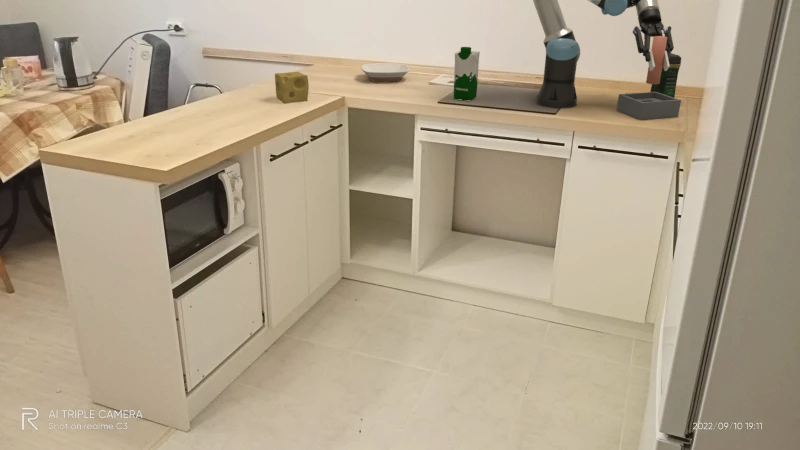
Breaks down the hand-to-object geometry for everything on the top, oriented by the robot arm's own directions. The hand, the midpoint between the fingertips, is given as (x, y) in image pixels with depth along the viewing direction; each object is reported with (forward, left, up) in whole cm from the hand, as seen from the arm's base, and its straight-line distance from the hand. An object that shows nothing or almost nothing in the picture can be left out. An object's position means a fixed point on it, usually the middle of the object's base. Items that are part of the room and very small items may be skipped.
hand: (659, 68), depth 222 cm
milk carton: (-54, +44, -17) cm, 72 cm away
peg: (+1, +4, -6) cm, 7 cm away
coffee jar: (+19, +19, -17) cm, 32 cm away
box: (+1, +4, -17) cm, 17 cm away
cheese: (-120, +61, -17) cm, 136 cm away
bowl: (-74, +89, -17) cm, 117 cm away
